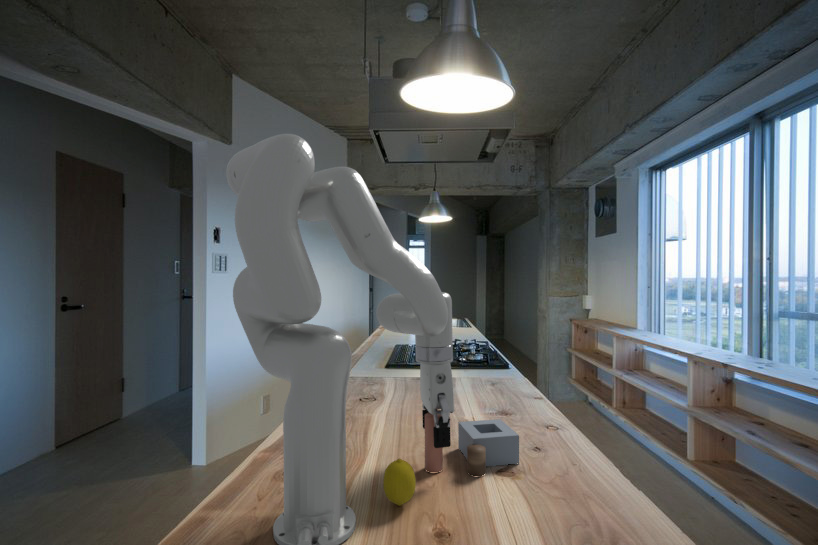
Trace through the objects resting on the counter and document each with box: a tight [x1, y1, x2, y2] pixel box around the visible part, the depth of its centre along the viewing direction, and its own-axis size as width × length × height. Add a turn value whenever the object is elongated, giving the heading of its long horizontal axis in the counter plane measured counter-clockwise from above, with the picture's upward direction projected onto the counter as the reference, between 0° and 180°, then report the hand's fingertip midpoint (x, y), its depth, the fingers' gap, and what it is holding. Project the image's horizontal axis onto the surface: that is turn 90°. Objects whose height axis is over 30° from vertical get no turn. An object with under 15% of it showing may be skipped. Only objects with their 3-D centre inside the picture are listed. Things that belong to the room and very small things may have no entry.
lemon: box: [382, 458, 417, 507], centre depth 75 cm, size 6×6×8 cm
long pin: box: [424, 413, 444, 472], centre depth 88 cm, size 4×4×11 cm
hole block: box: [457, 418, 520, 467], centre depth 95 cm, size 10×10×6 cm
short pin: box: [466, 444, 487, 476], centre depth 87 cm, size 4×4×5 cm
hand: (435, 436), depth 89 cm, fingers open, 9 cm apart
